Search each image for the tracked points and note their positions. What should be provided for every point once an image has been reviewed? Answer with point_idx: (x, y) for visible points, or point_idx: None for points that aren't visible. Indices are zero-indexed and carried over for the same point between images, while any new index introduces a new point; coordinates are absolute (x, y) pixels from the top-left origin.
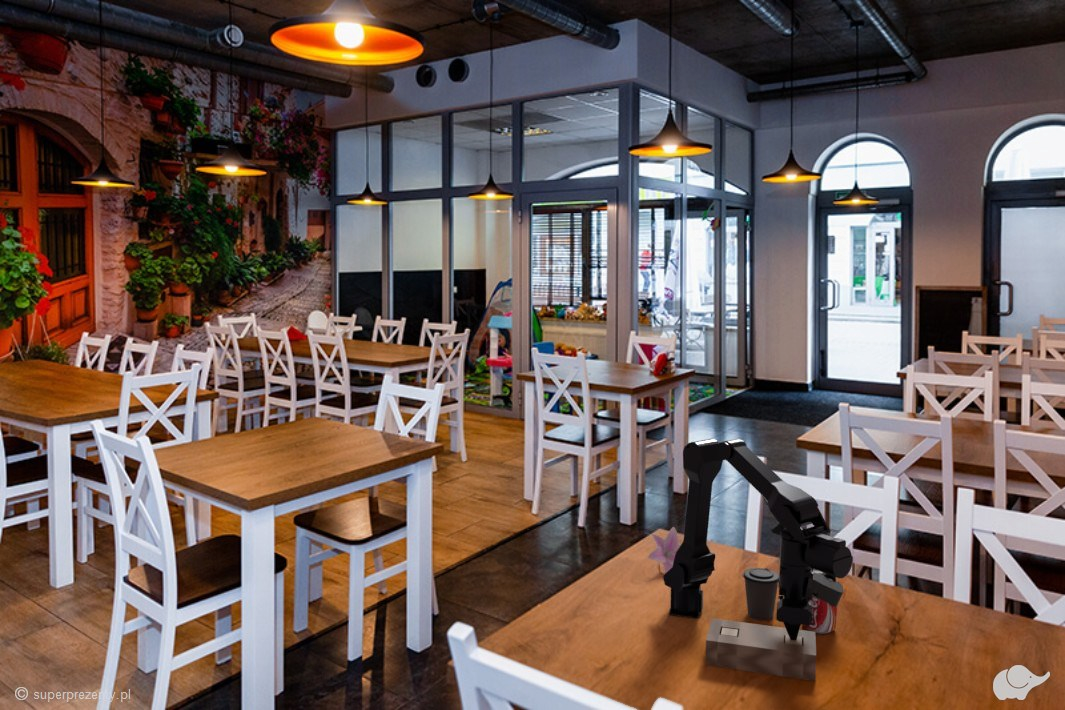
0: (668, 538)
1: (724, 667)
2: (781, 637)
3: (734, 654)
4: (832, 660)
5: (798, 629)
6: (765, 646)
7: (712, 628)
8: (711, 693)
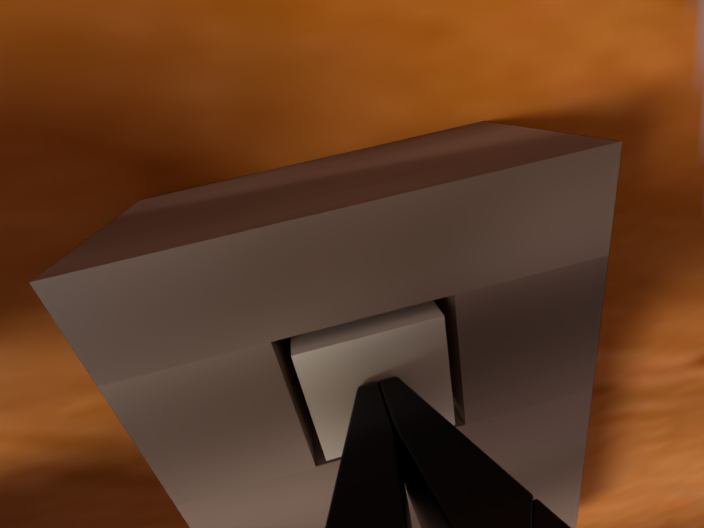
0: None
1: None
2: None
3: None
4: (109, 61)
5: (496, 468)
6: (554, 482)
7: None
8: (682, 440)
